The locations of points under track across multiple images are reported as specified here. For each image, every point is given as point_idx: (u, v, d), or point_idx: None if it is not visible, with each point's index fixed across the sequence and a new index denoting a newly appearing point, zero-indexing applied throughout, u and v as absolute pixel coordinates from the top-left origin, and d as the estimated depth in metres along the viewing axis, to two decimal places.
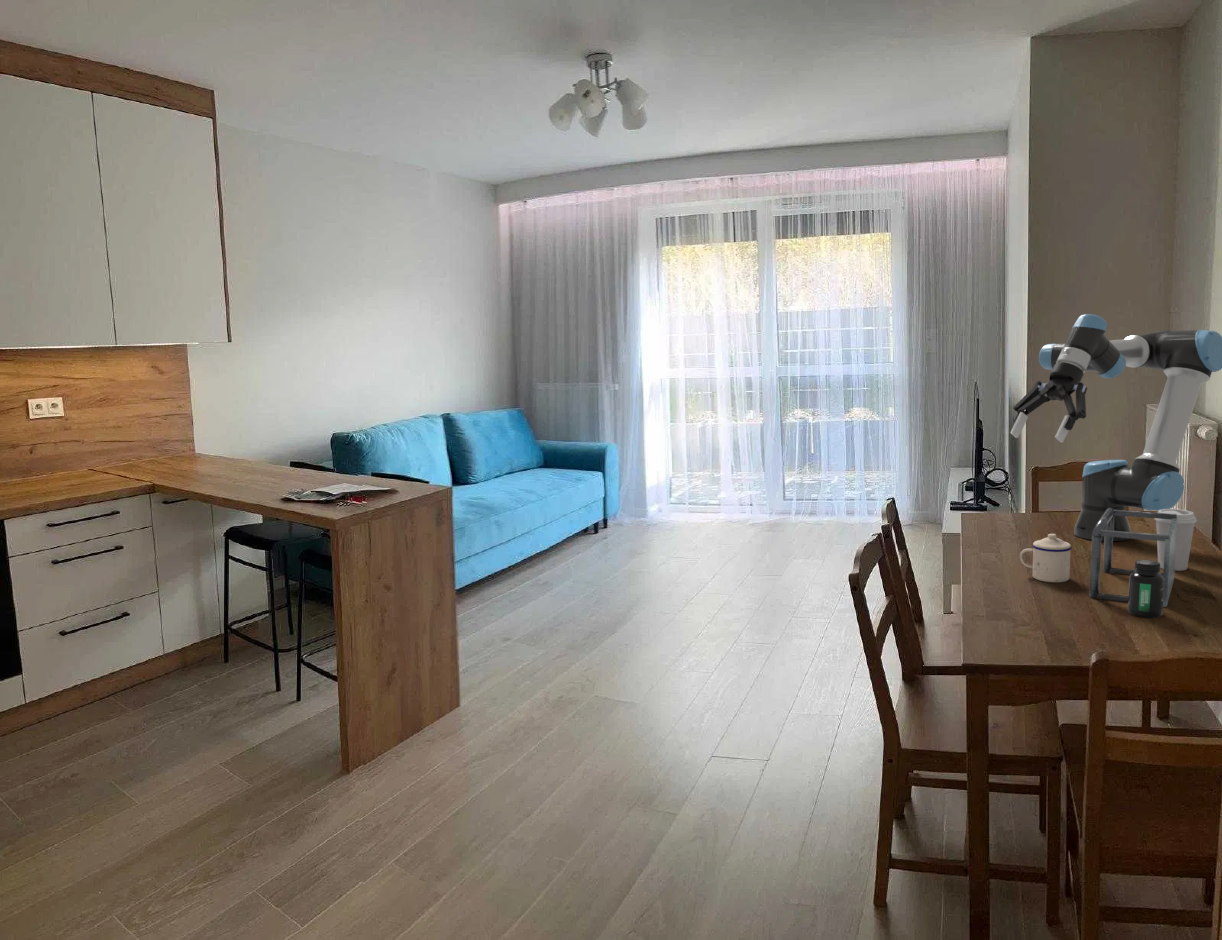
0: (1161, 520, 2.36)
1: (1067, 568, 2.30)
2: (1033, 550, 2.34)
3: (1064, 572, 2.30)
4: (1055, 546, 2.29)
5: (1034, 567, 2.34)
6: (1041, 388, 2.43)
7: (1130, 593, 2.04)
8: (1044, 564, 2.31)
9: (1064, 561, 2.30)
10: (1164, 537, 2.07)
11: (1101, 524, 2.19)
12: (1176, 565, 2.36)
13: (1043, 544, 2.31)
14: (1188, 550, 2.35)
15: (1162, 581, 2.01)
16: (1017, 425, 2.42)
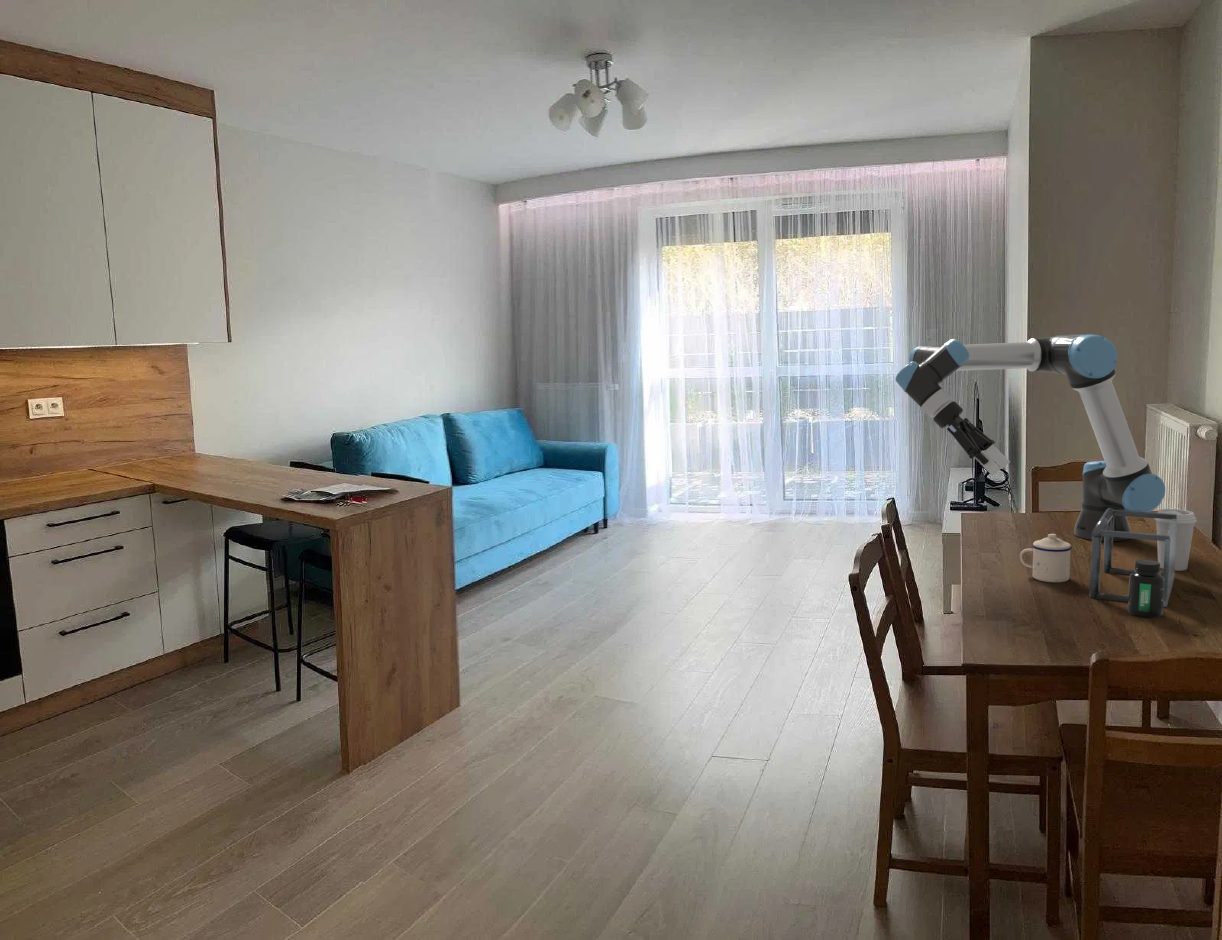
0: (1161, 520, 2.36)
1: (1067, 568, 2.30)
2: (1033, 550, 2.34)
3: (1064, 572, 2.30)
4: (1055, 546, 2.29)
5: (1034, 567, 2.34)
6: None
7: (1130, 593, 2.04)
8: (1044, 563, 2.31)
9: (1064, 561, 2.30)
10: (1164, 537, 2.07)
11: (1101, 524, 2.19)
12: (1176, 565, 2.36)
13: (1043, 544, 2.31)
14: (1188, 550, 2.35)
15: (1162, 581, 2.01)
16: (996, 460, 2.47)
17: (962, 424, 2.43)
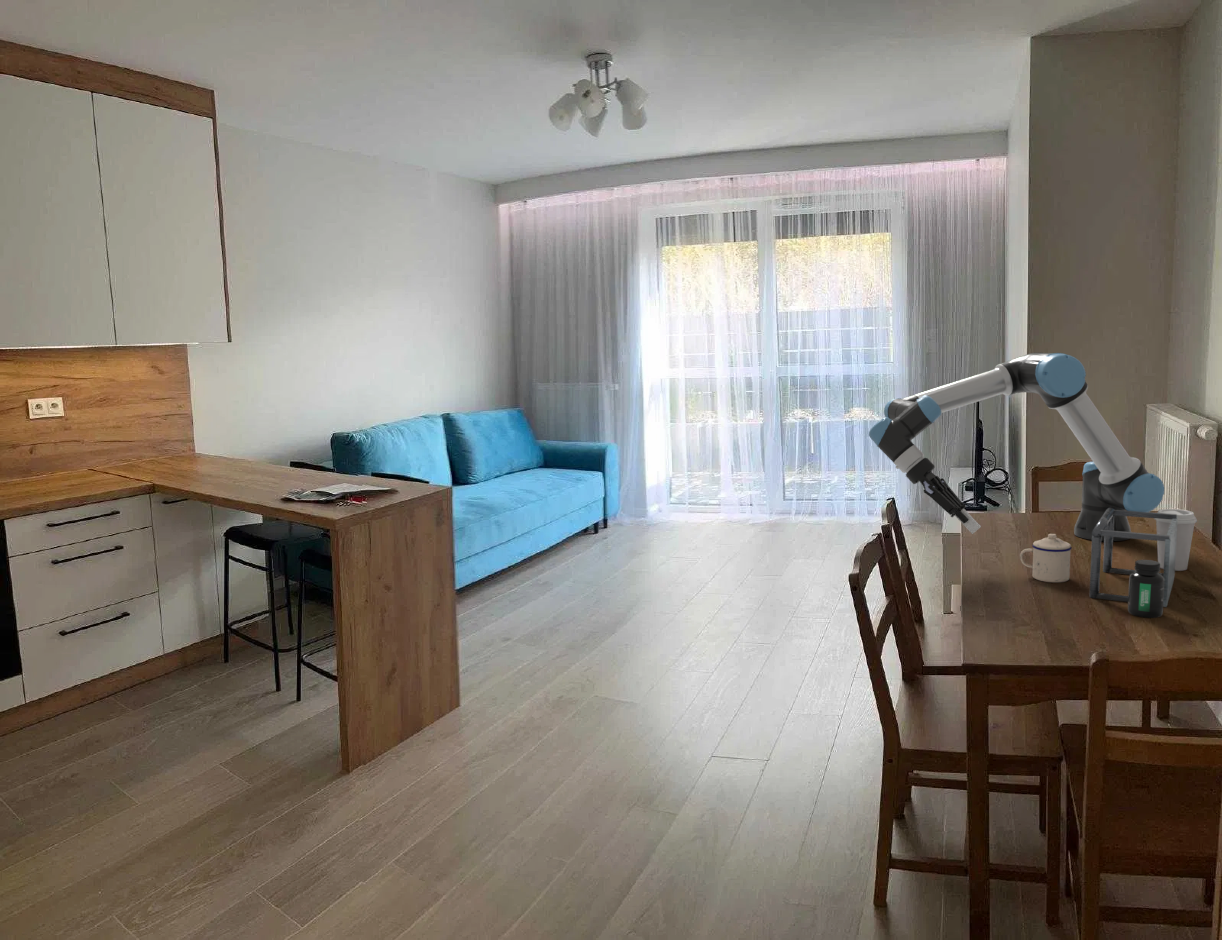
0: (1161, 520, 2.36)
1: (1067, 568, 2.30)
2: (1033, 550, 2.34)
3: (1064, 572, 2.30)
4: (1055, 546, 2.29)
5: (1034, 567, 2.34)
6: None
7: (1130, 593, 2.04)
8: (1044, 564, 2.31)
9: (1064, 561, 2.30)
10: (1164, 537, 2.07)
11: (1101, 524, 2.19)
12: (1176, 565, 2.36)
13: (1043, 544, 2.31)
14: (1188, 550, 2.35)
15: (1162, 581, 2.01)
16: None
17: (935, 482, 2.45)
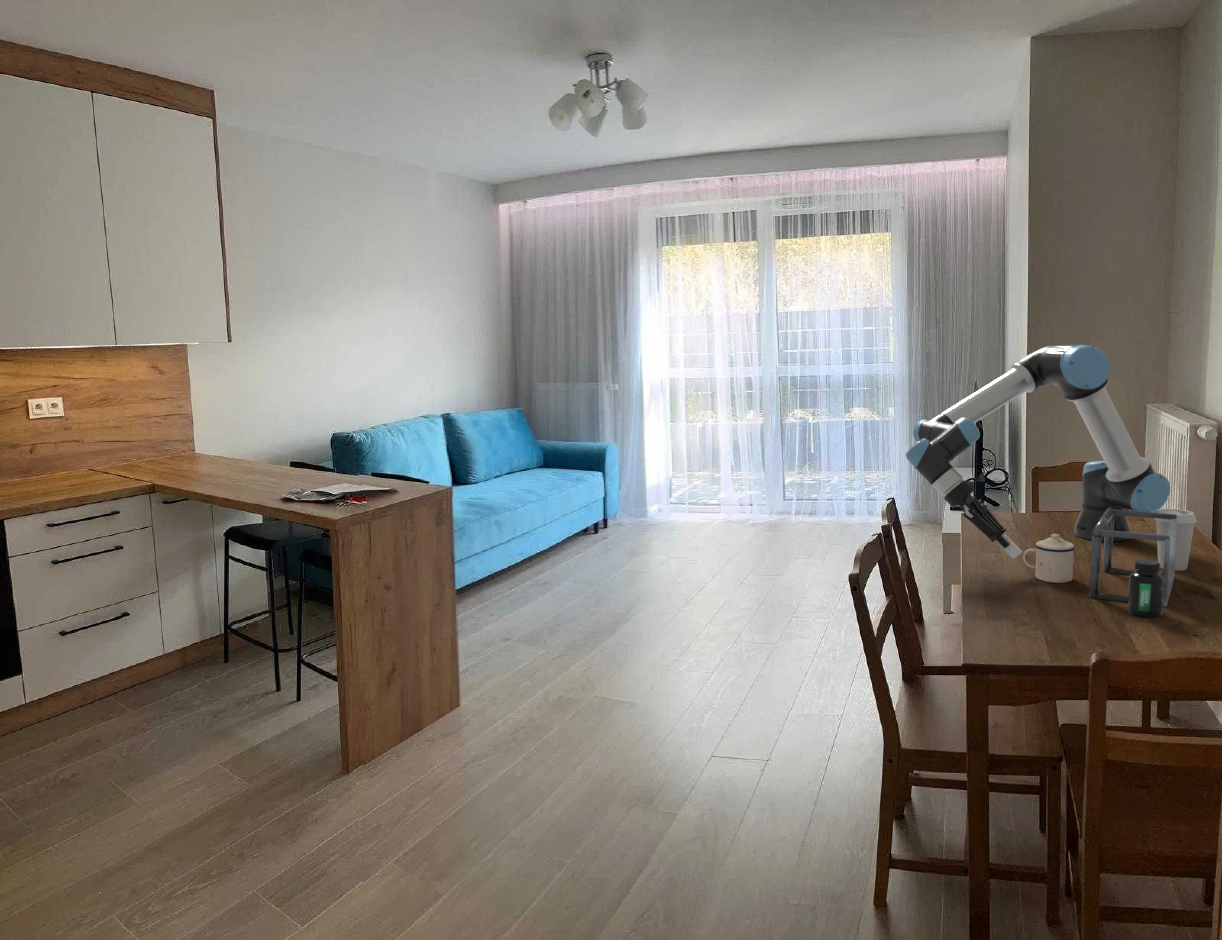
0: (1161, 520, 2.36)
1: (1070, 568, 2.30)
2: (1036, 550, 2.34)
3: (1067, 572, 2.30)
4: (1058, 546, 2.29)
5: (1037, 567, 2.34)
6: None
7: (1130, 593, 2.04)
8: (1047, 564, 2.30)
9: (1068, 561, 2.29)
10: (1164, 537, 2.07)
11: (1101, 524, 2.19)
12: (1176, 565, 2.36)
13: (1046, 544, 2.31)
14: (1188, 550, 2.35)
15: (1162, 581, 2.01)
16: None
17: (975, 506, 2.40)
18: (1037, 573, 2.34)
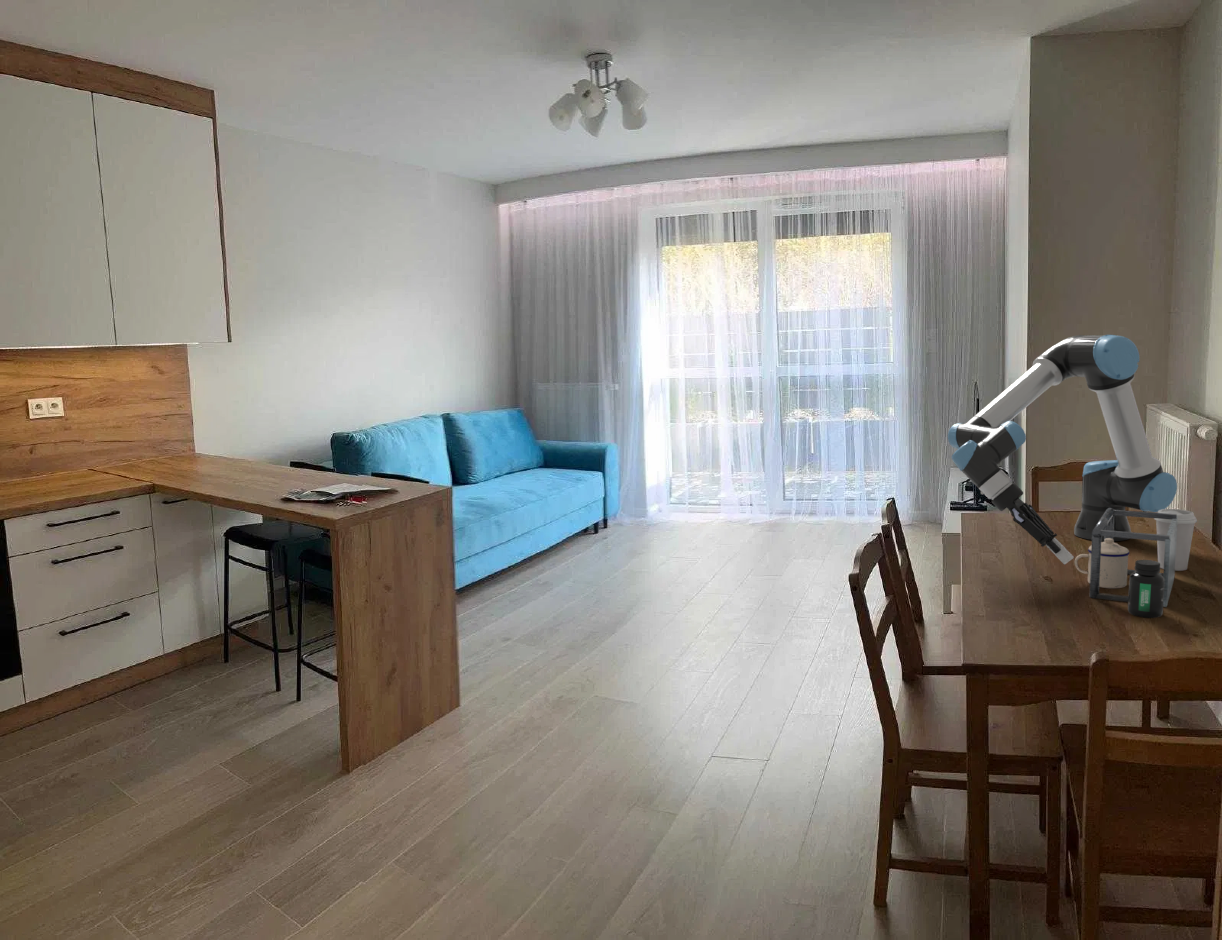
0: (1161, 520, 2.36)
1: (1126, 573, 2.24)
2: (1090, 555, 2.27)
3: (1123, 577, 2.23)
4: (1115, 551, 2.22)
5: None
6: None
7: (1130, 593, 2.04)
8: (1103, 569, 2.24)
9: (1124, 566, 2.23)
10: (1164, 537, 2.07)
11: (1101, 524, 2.19)
12: (1176, 565, 2.36)
13: (1102, 549, 2.24)
14: (1188, 550, 2.35)
15: (1162, 581, 2.01)
16: None
17: (1024, 509, 2.33)
18: None
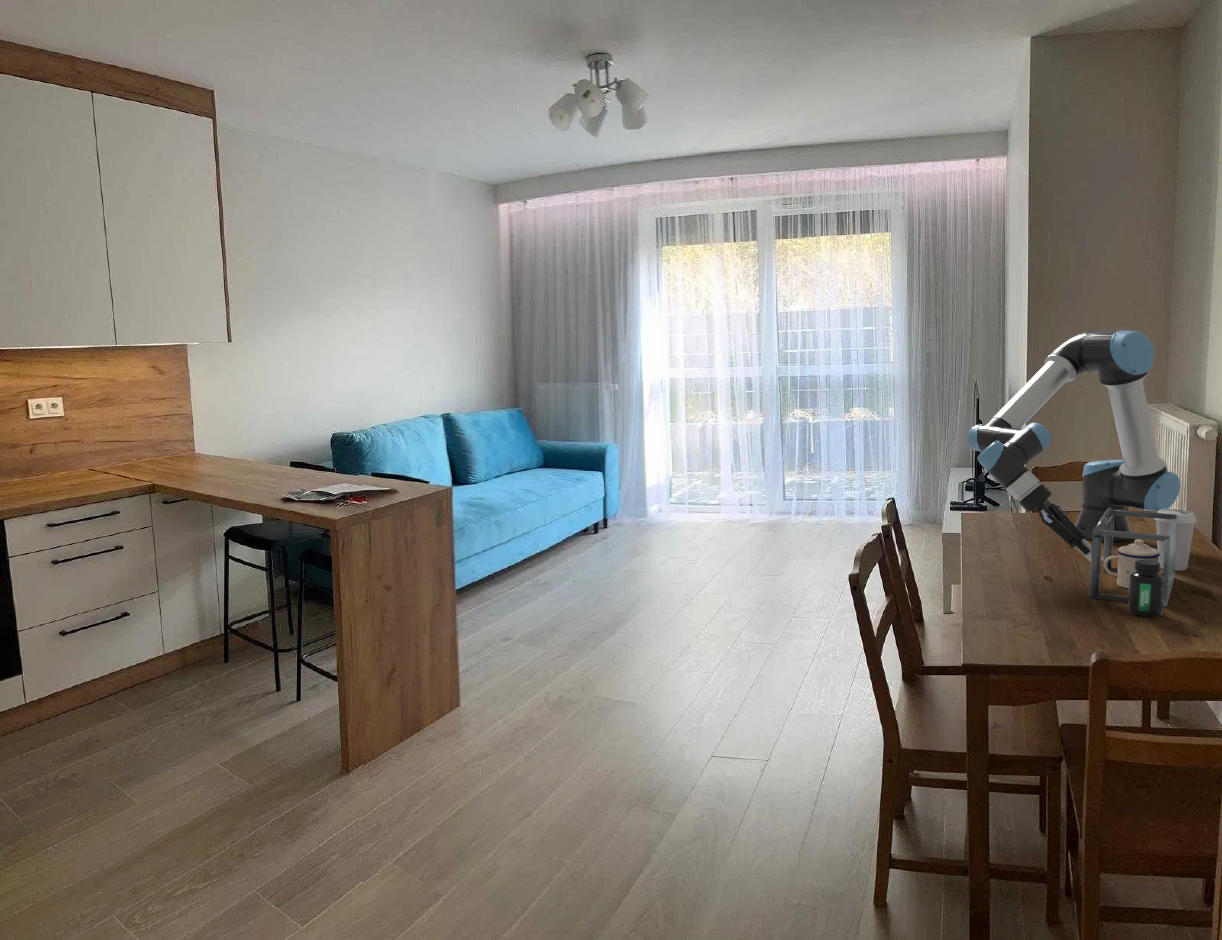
0: (1161, 520, 2.36)
1: None
2: (1120, 557, 2.24)
3: None
4: (1147, 552, 2.20)
5: (1122, 575, 2.24)
6: None
7: (1130, 593, 2.04)
8: None
9: None
10: (1164, 537, 2.07)
11: (1101, 524, 2.19)
12: (1176, 565, 2.36)
13: (1133, 551, 2.21)
14: (1188, 550, 2.35)
15: (1162, 581, 2.01)
16: None
17: (1053, 510, 2.30)
18: (1122, 581, 2.24)
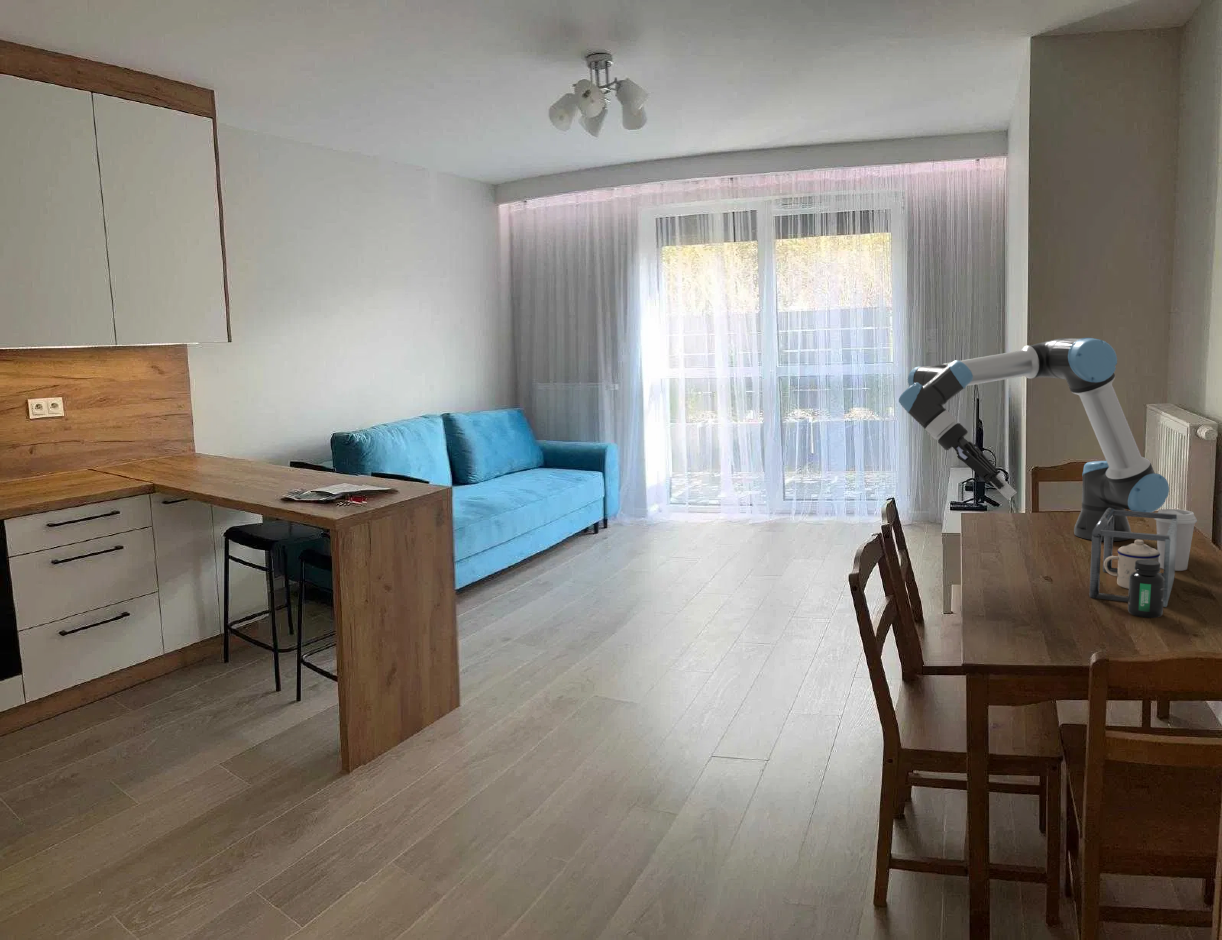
0: (1161, 520, 2.36)
1: None
2: (1120, 557, 2.24)
3: None
4: (1147, 552, 2.20)
5: (1122, 575, 2.24)
6: None
7: (1130, 593, 2.04)
8: None
9: None
10: (1164, 537, 2.07)
11: (1101, 524, 2.19)
12: (1176, 565, 2.36)
13: (1133, 551, 2.21)
14: (1188, 550, 2.35)
15: (1162, 581, 2.01)
16: None
17: (969, 447, 2.39)
18: (1122, 581, 2.24)
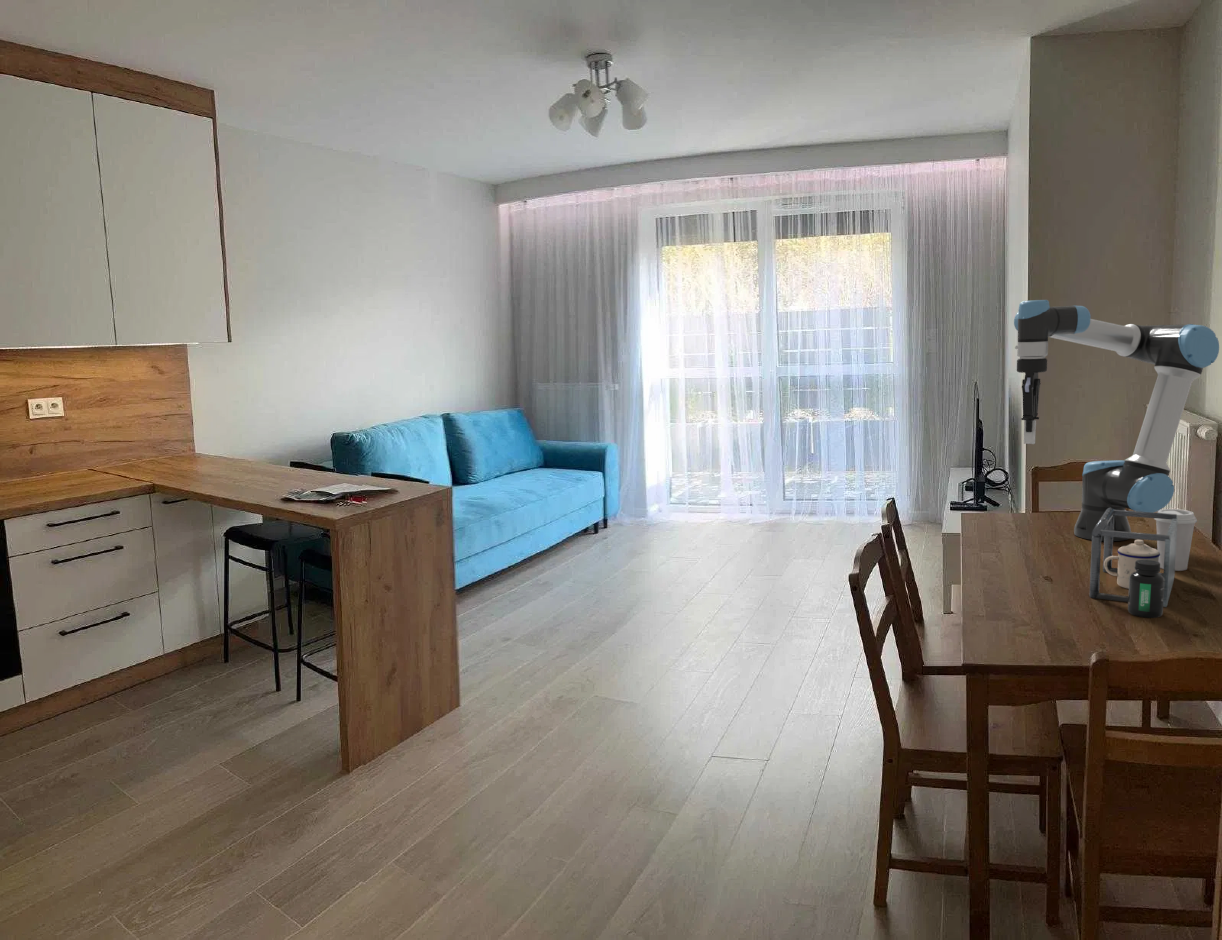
0: (1161, 520, 2.36)
1: None
2: (1120, 557, 2.24)
3: None
4: (1147, 552, 2.20)
5: (1122, 575, 2.24)
6: None
7: (1130, 593, 2.04)
8: None
9: None
10: (1164, 537, 2.07)
11: (1101, 524, 2.19)
12: (1176, 565, 2.36)
13: (1133, 551, 2.21)
14: (1188, 550, 2.35)
15: (1162, 581, 2.01)
16: None
17: (1035, 384, 2.45)
18: (1122, 581, 2.24)
